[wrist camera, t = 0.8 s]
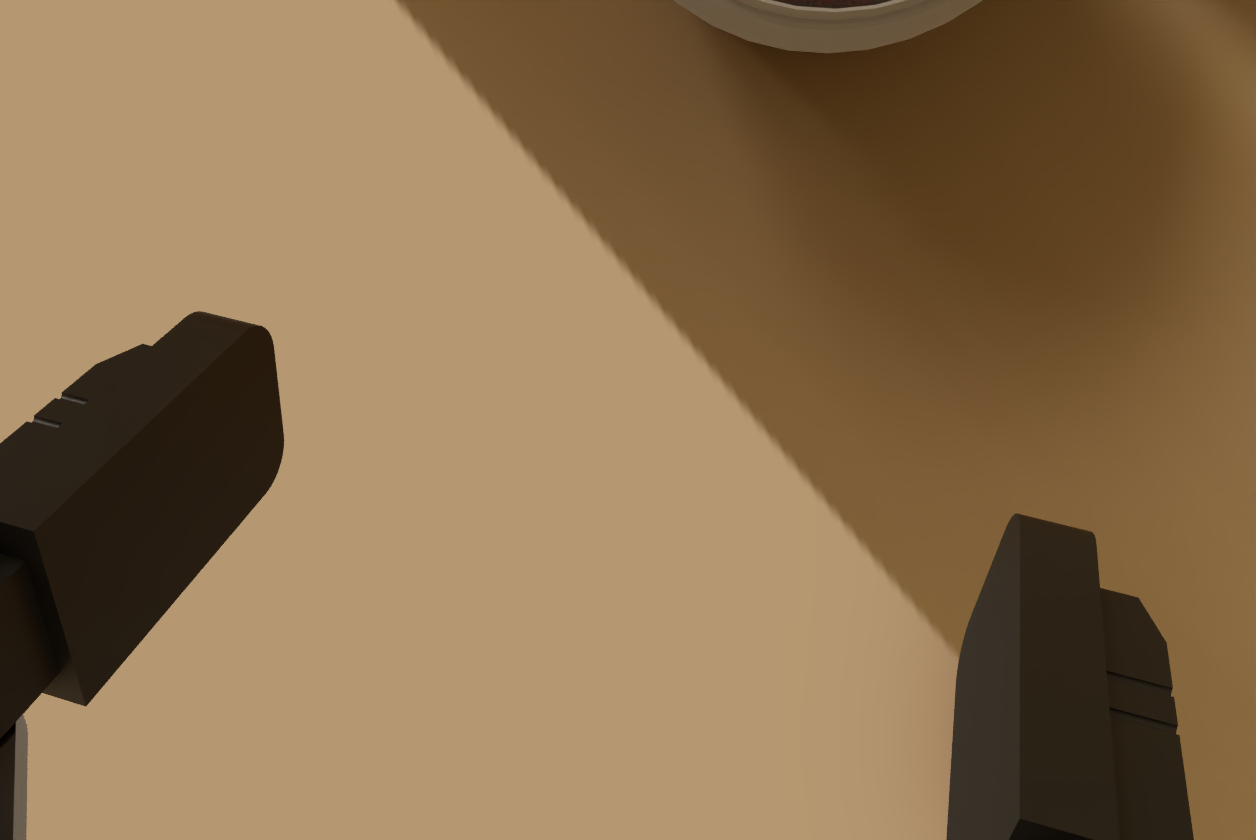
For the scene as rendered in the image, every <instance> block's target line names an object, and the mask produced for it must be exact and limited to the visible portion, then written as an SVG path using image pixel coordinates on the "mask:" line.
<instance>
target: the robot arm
mask: <svg viewBox="0 0 1256 840" xmlns="http://www.w3.org/2000/svg"><path fill="white" fill-rule="evenodd" d="M283 448H284V433H283V425H282V415H281V407H280V397H279V389H278V380H277V371H276V362H275V353H274V345H273V340H272V337H271V335H270V333H269V332H268V330H266V329H265V328H264V327H262V326H258V325H255V324H251V323H246V322H242V321H238V320H234V319H230V318H226V317H222V316H218V315H214V314H210V313H206V312H194V313H192V314H190V315H188V316H187V317H185V318H184V319H183V320H182V321H181V322H179V323H178V324H177V325H176V326H175V327H174V328H172V329H171V330H170V331H169V332H168V333H167V334H165V335H164V336H163V337H162V338H161V339H160V340H159V341H157V342H156V343H155V344H154V345H153V346H149V345H145V344H141V345H139V346H137V347H134V348H132V349H130V350H128V351H125V352H123V353H121V354H118V355H116V356H114V357H112V358H109V359H107V360H105V361H103V362H100V363H98V364H96V365H95V366H93V367H92V368H91V369H90V370H88V371H87V372H86V373H85V374H84V375H83V376H81V377H80V378H79V379H78V380H76V381H75V382H74V383H73V384H72V385H70V386H69V387H68V388H67V389H66V390H64V391H63V392H62V396H61V399H56V398H55V399H54V400H52V401H51V402H50V403H49V404H47V405H46V406H45V407H44V408H43V409H41V410H40V411H39V412H38V413H37V414H35V415H34V420H33V422H32V423H31V422H26V423H24V424H23V425H22V426H21V427H20V428H18V429H17V430H16V431H15V432H14V433H13V434H11V435H10V436H9V437H8V438H6V439H5V440H4V441H3V442H2V443H0V840H26V818H27V816H26V815H27V754H28V731H27V724H26V721H25V719H24V716H23V713H24V712H25V711H26V710H27V709H28V708H29V706H30V705H31V704H32V703H33V702H34V701H35V700H36V699H37V698H38V697H39V695H40V694H41V693H45V694H48V695H51V696H55V697H57V698H61V699H64V700H67V701H70V702H73V703H77V704H80V705H83V706H87V705H88V703H89V702H90V701H91V700H92V699H93V698H94V696H95V695H96V694H97V693H98V692H99V690H100V689H101V688H102V687H103V686H104V685H105V683H106V682H107V681H108V680H109V679H110V677H111V676H112V675H113V674H114V673H115V671H116V670H117V669H118V668H119V667H120V665H121V664H122V663H123V662H124V661H125V660H126V658H127V657H128V656H129V655H130V654H131V653H132V651H133V650H134V649H135V648H136V647H137V645H138V644H139V643H140V642H141V641H142V640H143V638H144V637H145V636H146V635H147V634H148V632H149V631H150V630H151V629H152V628H153V626H154V625H155V624H156V623H157V622H158V621H159V619H160V618H161V617H162V616H163V615H164V613H165V612H166V611H167V610H168V609H169V608H170V606H171V605H172V604H173V603H174V602H175V600H176V599H177V598H178V597H179V595H181V593H182V592H183V591H184V590H185V589H186V587H187V586H188V585H189V584H190V583H191V582H192V580H193V579H194V578H195V577H196V576H197V574H198V573H199V572H200V571H201V569H202V568H203V567H204V566H205V565H206V564H207V563H208V561H209V560H210V559H211V558H212V557H213V555H214V554H215V553H216V552H217V551H218V550H219V548H220V547H221V546H222V545H223V544H224V542H225V541H226V540H227V539H228V538H229V536H230V535H231V534H232V533H233V532H234V531H235V529H236V528H237V527H238V526H239V525H240V523H241V522H242V521H243V520H244V519H245V518H246V516H247V515H248V514H249V513H250V512H251V510H252V509H253V508H254V507H255V506H256V504H257V503H258V502H259V501H260V500H261V499H262V497H263V496H264V495H265V494H266V492H267V491H268V490H269V488H270V487H271V485H272V483H273V481H274V479H275V477H276V475H277V473H278V470H279V467H280V463H281V459H282V455H283ZM1172 689H1173V686H1172V679H1171V672H1170V665H1169V657H1168V650H1167V643H1166V641H1165V640H1164V638H1163V636H1162V635H1161V633H1160V632H1159V630H1158V628H1157V627H1156V625H1155V624H1154V622H1153V620H1152V619H1151V617H1150V616H1149V614H1148V612H1147V611H1146V609H1145V608H1144V606H1143V604H1142V603H1141V601H1140V600H1139V598H1138V597H1134V596H1130V595H1126V594H1122V593H1118V592H1114V591H1110V590H1106V589H1102V588H1100V583H1099V571H1098V558H1097V545H1096V539H1095V535H1094V534H1093V532H1090V531H1086V530H1082V529H1078V528H1074V527H1070V526H1066V525H1062V524H1058V523H1054V522H1049V521H1045V520H1041V519H1037V518H1033V517H1029V516H1025V515H1021V514H1017V513H1016V514H1014V515H1013V516H1012V518H1011V519H1010V521H1009V523H1008V525H1007V527H1006V530H1005V532H1004V534H1003V537H1002V539H1001V542H1000V545H999V547H998V550H997V552H996V555H995V557H994V560H993V562H992V565H991V567H990V570H989V572H988V575H987V577H986V580H985V582H984V585H983V587H982V590H981V592H980V595H979V597H978V600H977V602H976V605H975V607H974V610H973V612H972V615H971V618H970V620H969V623H968V626H967V629H966V633H965V636H964V640H963V644H962V648H961V653H960V658H959V663H958V670H957V678H956V693H955V710H954V726H953V742H952V759H951V775H950V791H949V810H948V825H947V840H1194V838H1193V831H1192V823H1191V816H1190V809H1189V802H1188V795H1187V787H1186V780H1185V773H1184V766H1183V758H1182V751H1181V744H1180V737H1179V735H1177V734H1176V730H1177V726H1178V722H1177V715H1176V708H1175V701H1174V697H1172V696H1171V691H1172Z"/></svg>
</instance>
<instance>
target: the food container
mask: <svg viewBox="0 0 1256 840" xmlns="http://www.w3.org/2000/svg"><path fill="white" fill-rule="evenodd" d="M674 1H675V2H676V3H677V4H678V5H680V6H682V7H683V8H685V9H686V10H688V11H689V12H691V13H693V14H694V15H696V16H697V17H699V18H701V19H702V20H704V21H705V22H707V23H708V24H710V25H712V26H714V27H716V28H719V29H721V30H723V31H726V32H728V33H731V34H733V35H735V36H738V37H740V38H742V39H745V40H747V41H750V42H754V43H759V44H763V45H767V46H770V47H775V48H779V49H784V50H788V51H802V52H816V53H838V52H848V51H859V50H869V49H873V48H877V47H881V46H885V45H889V44H893V43H897V42H900V41H904V40H908V39H911V38H913V37H915V36H918V35H920V34H922V33H925V32H927V31H929V30H932V29H934V28H936V27H939V26H941V25H943V24H946V23H948V22H949V21H951V20H953V19H954V18H956V17H957V16H959V15H960V14H962V13H964V12H965V11H967V10H968V9H970V8H972V7H973V6H975V5H976V4H978V3H980V2H981V1H983V0H674Z"/></svg>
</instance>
